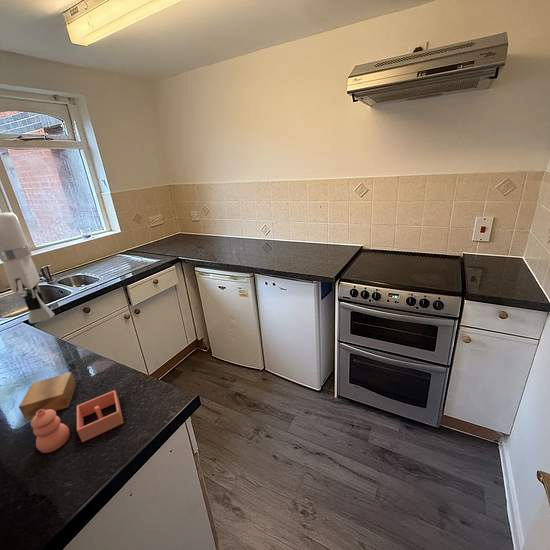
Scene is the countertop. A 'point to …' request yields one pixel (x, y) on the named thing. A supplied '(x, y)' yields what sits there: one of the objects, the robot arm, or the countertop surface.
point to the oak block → (48, 395)
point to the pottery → (57, 434)
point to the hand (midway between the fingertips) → (37, 306)
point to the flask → (40, 312)
